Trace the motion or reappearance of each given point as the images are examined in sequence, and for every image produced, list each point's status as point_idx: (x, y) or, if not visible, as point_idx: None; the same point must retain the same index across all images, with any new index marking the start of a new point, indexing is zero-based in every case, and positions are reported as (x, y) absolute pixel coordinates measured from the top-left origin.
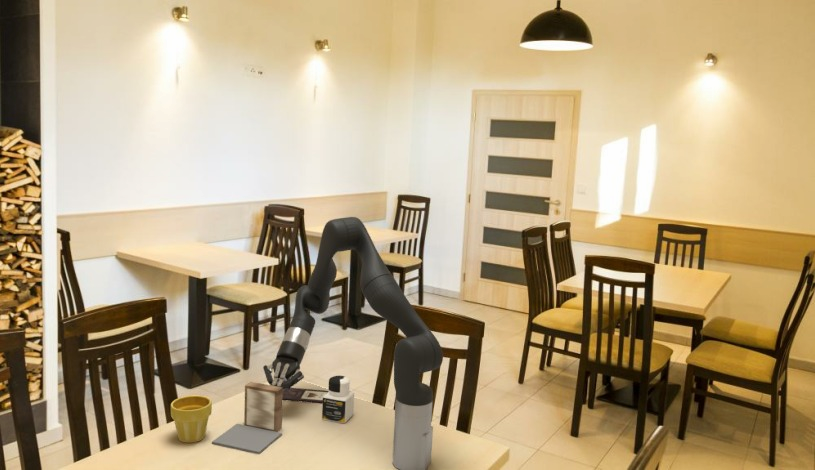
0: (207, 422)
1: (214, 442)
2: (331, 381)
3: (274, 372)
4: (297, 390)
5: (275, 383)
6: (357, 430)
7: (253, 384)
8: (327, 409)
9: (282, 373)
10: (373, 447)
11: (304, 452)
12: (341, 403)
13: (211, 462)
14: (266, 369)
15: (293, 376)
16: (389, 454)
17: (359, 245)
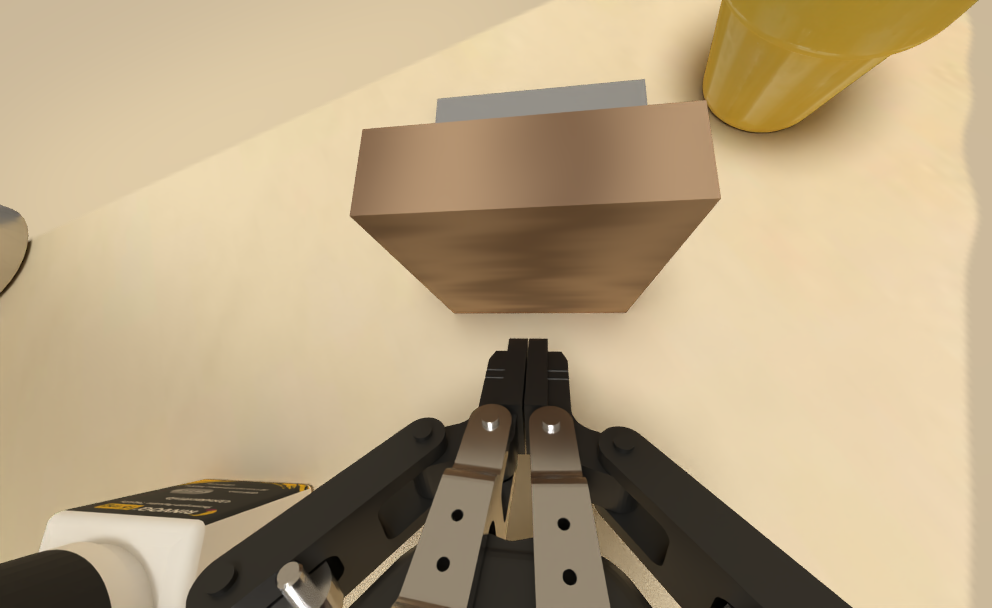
0: (732, 63)
1: (631, 80)
2: None
3: (627, 577)
4: None
5: (536, 424)
6: (146, 433)
7: (643, 153)
8: (238, 497)
9: (471, 526)
10: (84, 314)
11: (302, 181)
12: (102, 506)
13: (556, 4)
14: (794, 606)
15: (325, 521)
16: (36, 289)
17: None
